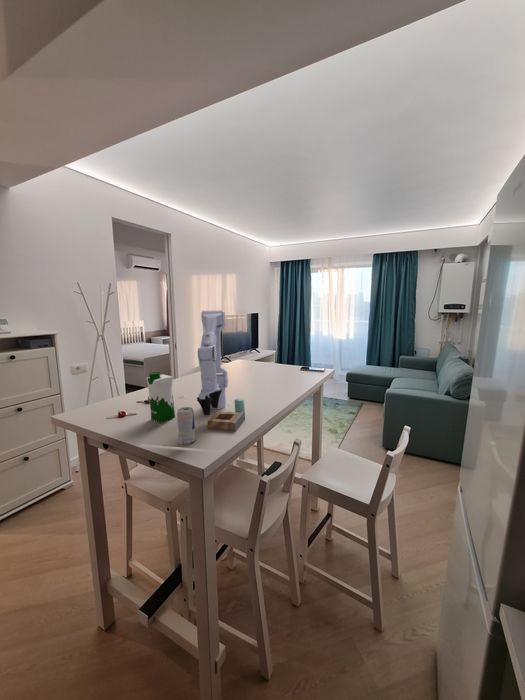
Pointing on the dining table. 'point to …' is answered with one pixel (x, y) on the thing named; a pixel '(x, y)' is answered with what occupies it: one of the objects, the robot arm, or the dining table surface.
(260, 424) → the dining table surface
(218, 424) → the socket block
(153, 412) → the milk carton
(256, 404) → the dining table surface
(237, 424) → the board
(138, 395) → the dining table surface
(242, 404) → the dowel
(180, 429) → the energy drink
